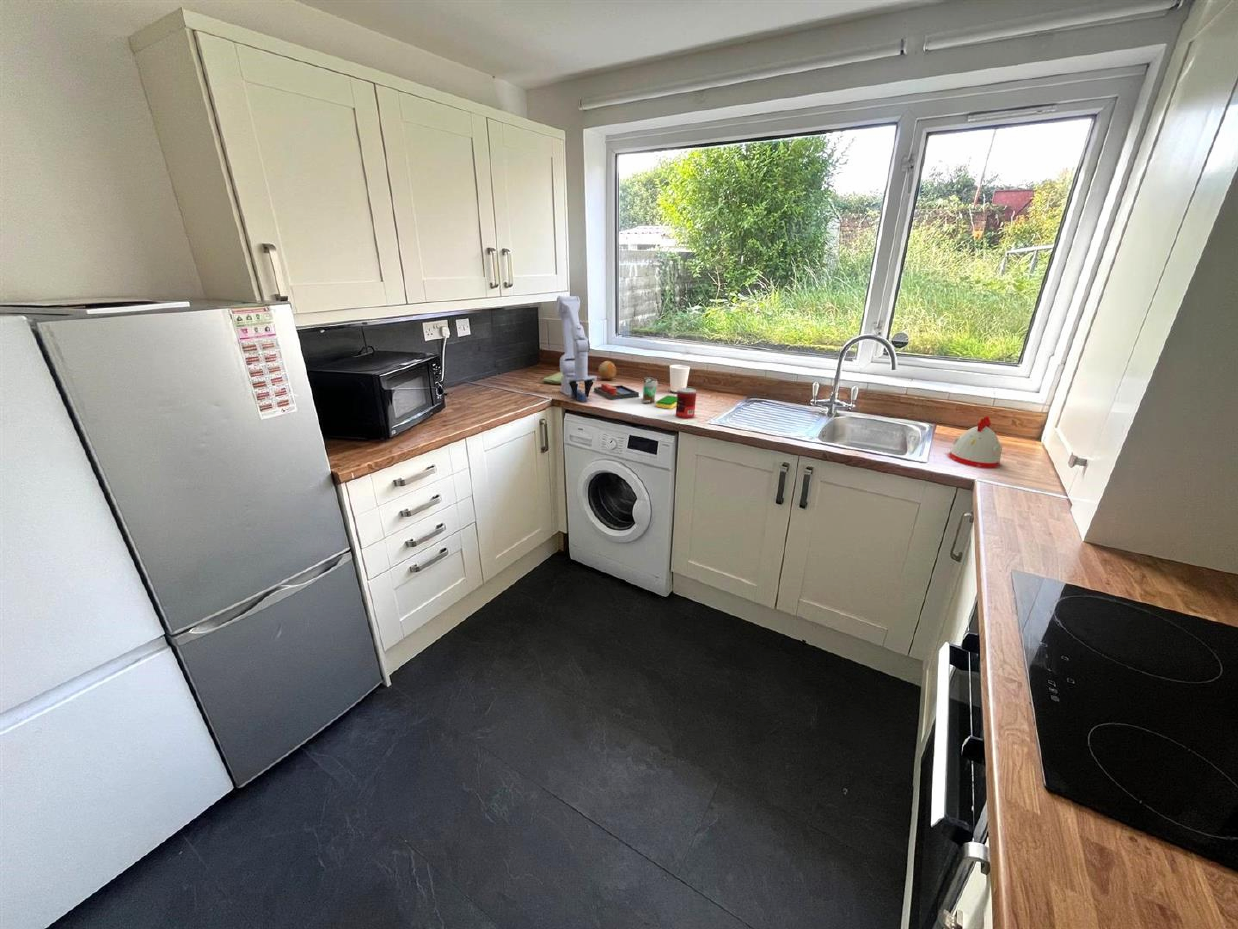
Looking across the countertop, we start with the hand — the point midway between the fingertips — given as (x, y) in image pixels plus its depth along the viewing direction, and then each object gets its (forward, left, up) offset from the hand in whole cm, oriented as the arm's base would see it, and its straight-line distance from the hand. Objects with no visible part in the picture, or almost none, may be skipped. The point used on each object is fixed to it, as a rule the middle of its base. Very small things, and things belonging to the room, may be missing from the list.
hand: (581, 397), depth 225 cm
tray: (-5, +20, -1) cm, 21 cm away
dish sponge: (+21, +34, -2) cm, 40 cm away
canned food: (+39, +30, -2) cm, 49 cm away
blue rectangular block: (-3, 0, -1) cm, 3 cm away
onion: (-36, +32, -2) cm, 48 cm away
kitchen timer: (+121, +90, -2) cm, 151 cm away
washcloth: (-40, +6, -2) cm, 40 cm away
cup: (+2, +52, -2) cm, 52 cm away
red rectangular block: (-4, +16, -1) cm, 17 cm away
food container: (+13, +28, -2) cm, 32 cm away
